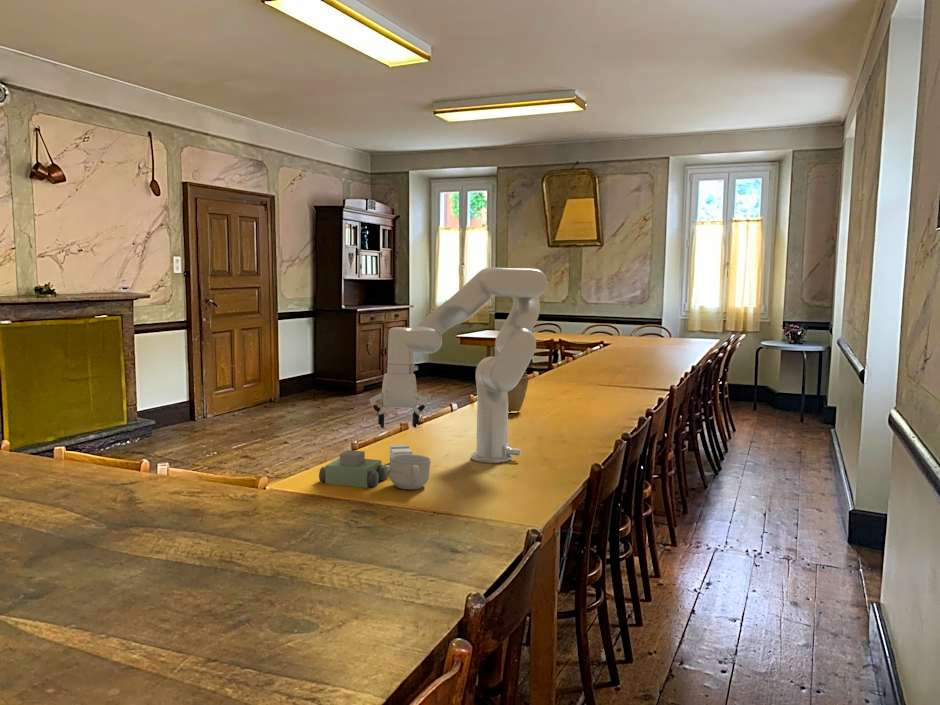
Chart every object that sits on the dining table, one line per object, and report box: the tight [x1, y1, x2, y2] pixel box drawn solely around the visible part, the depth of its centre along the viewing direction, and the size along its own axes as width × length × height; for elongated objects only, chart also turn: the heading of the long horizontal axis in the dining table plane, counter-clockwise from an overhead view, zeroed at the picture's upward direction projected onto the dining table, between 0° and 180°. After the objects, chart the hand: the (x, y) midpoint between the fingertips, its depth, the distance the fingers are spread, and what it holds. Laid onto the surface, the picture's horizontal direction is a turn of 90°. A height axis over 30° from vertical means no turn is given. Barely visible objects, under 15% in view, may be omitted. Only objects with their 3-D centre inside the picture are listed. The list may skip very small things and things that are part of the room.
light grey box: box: [389, 444, 413, 458], centre depth 213 cm, size 6×7×6 cm
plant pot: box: [507, 373, 530, 412], centre depth 302 cm, size 15×15×16 cm
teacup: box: [389, 453, 432, 490], centre depth 189 cm, size 14×11×8 cm
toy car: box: [318, 449, 390, 489], centre depth 200 cm, size 16×19×8 cm
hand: (398, 427), depth 213 cm, fingers open, 9 cm apart
